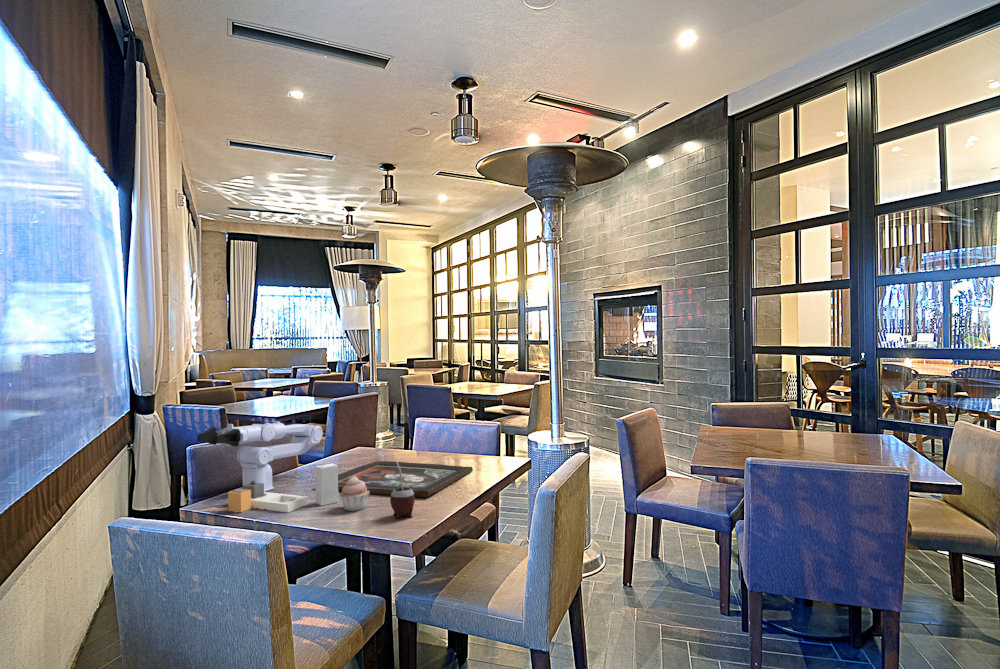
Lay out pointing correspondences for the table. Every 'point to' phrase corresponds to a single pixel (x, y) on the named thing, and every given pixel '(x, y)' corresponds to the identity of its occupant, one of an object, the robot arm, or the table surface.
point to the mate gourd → (402, 500)
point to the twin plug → (255, 489)
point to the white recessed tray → (279, 502)
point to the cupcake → (354, 495)
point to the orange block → (239, 500)
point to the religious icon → (404, 477)
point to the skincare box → (326, 484)
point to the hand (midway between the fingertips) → (207, 438)
